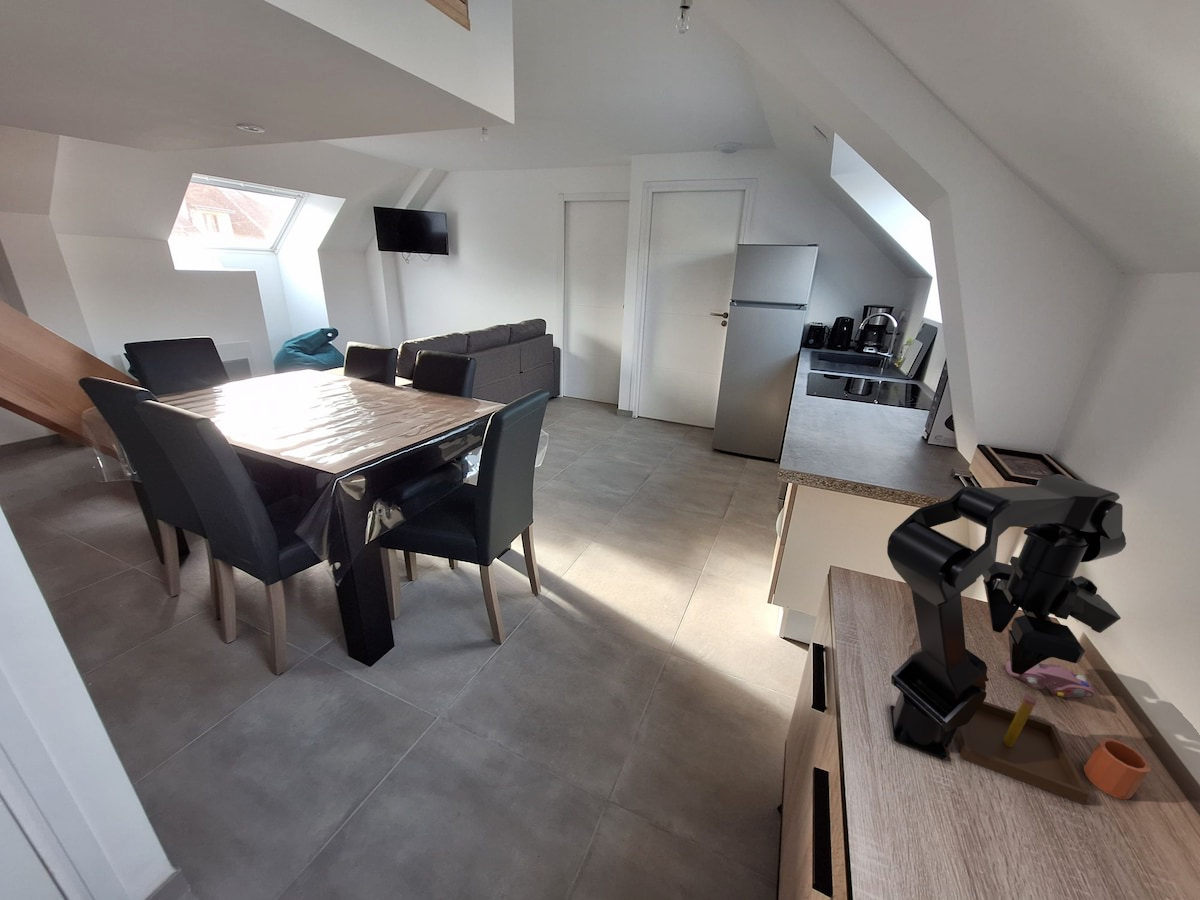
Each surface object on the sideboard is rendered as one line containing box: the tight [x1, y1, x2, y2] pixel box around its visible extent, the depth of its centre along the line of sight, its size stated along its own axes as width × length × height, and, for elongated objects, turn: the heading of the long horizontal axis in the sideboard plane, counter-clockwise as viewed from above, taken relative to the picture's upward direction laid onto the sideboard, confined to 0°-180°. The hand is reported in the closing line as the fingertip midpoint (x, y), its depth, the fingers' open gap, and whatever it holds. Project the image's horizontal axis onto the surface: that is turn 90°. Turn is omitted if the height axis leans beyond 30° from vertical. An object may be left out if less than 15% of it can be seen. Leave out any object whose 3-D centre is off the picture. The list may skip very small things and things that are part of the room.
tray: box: [954, 700, 1090, 805], centre depth 67 cm, size 13×11×2 cm
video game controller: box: [1005, 660, 1095, 699], centre depth 76 cm, size 10×5×7 cm, turn 65°
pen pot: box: [1083, 737, 1152, 800], centre depth 62 cm, size 5×5×6 cm
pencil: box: [1003, 694, 1037, 747], centre depth 65 cm, size 1×1×9 cm
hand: (1005, 650), depth 68 cm, fingers open, 9 cm apart
